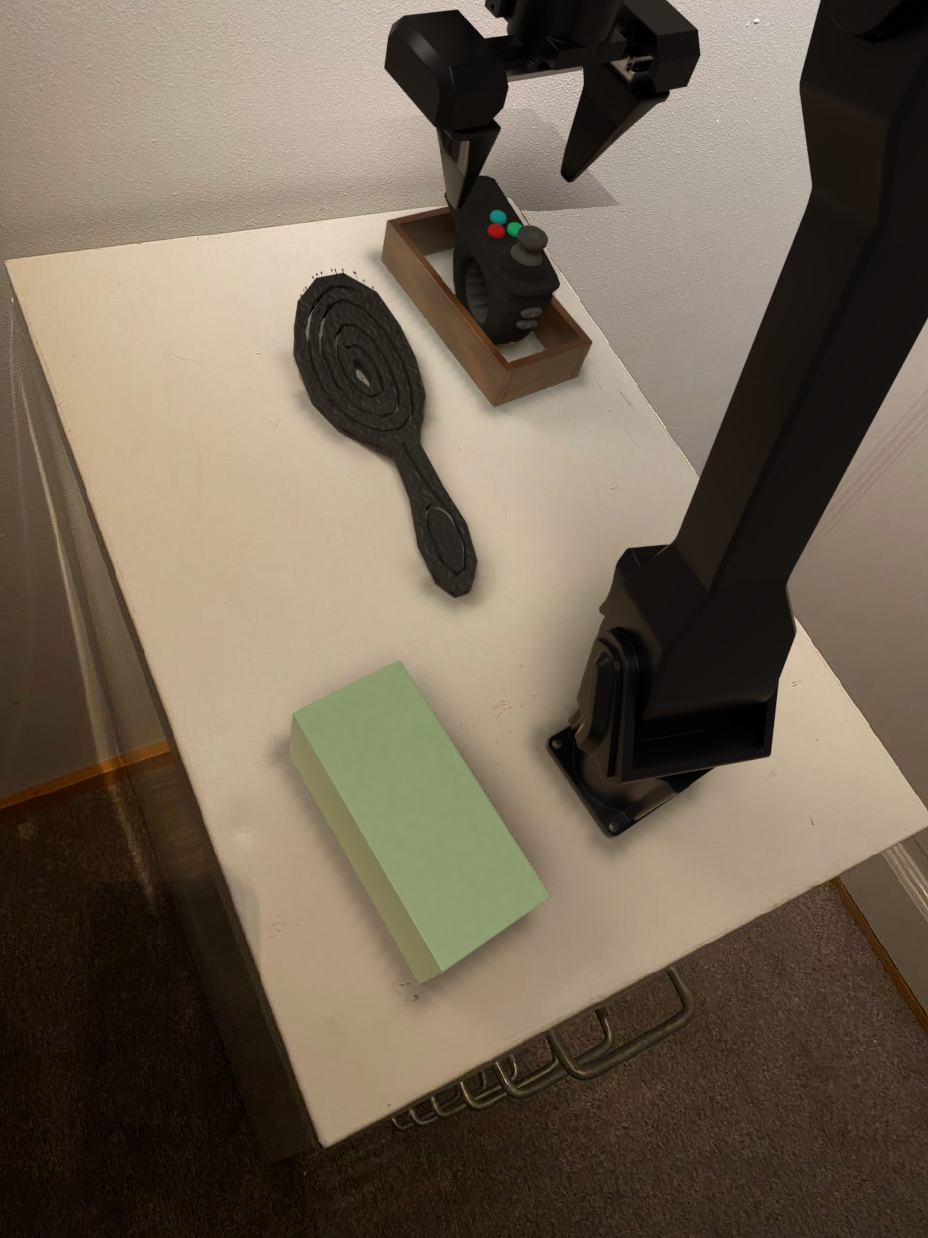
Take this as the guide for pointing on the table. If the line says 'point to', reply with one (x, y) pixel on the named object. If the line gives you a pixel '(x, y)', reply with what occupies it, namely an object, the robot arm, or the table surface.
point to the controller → (500, 265)
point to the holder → (458, 327)
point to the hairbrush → (380, 408)
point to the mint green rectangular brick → (412, 820)
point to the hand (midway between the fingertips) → (511, 190)
